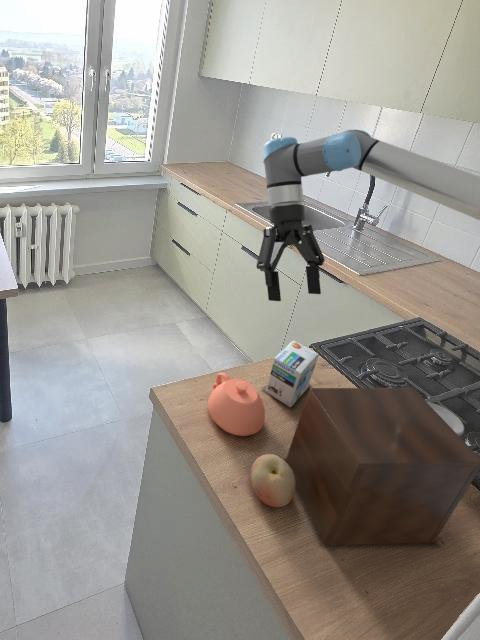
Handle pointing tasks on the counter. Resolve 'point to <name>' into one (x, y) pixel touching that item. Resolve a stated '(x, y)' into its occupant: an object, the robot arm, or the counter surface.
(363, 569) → the counter surface
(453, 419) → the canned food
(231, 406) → the sugar bowl
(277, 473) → the fruit
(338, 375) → the counter surface
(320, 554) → the counter surface
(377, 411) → the block
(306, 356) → the light bulb box
